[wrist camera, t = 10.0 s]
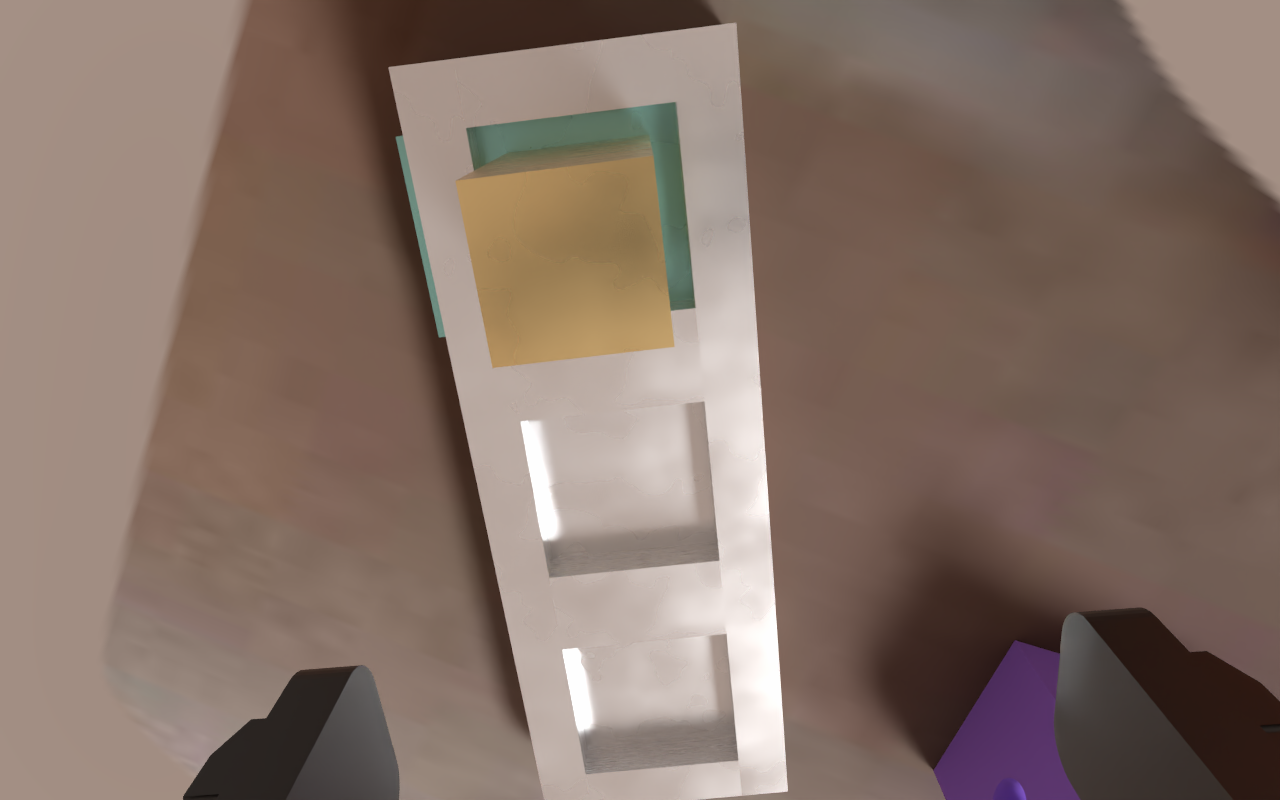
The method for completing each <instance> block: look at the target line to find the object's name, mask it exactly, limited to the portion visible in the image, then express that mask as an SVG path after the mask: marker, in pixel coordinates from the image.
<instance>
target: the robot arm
mask: <svg viewBox="0 0 1280 800" xmlns="http://www.w3.org/2000/svg"><path fill="white" fill-rule="evenodd" d="M1054 734H1055V740H1056V746H1057V750H1058V754H1059V757H1060V760H1061V763H1062V766H1063V768H1064V771H1065V773H1066V775H1067V778H1068V779H1069V781H1070V783H1071V785H1072V786H1073V788H1074V790H1075V791H1076V793H1077V795H1078V796H1079V798H1080V800H1280V701H1279V700H1278V699H1277V698H1276V697H1275V696H1274V695H1273V694H1271V693H1270V692H1269V691H1268V690H1267V689H1266V688H1265V687H1264V686H1263V685H1262V684H1261V683H1260V682H1258V681H1257V680H1255V679H1253V678H1252V677H1250V676H1248V675H1246V674H1245V673H1243V672H1241V671H1240V670H1238V669H1236V668H1235V667H1233V666H1231V665H1229V664H1228V663H1226V662H1224V661H1223V660H1221V659H1219V658H1217V657H1216V656H1214V655H1212V654H1211V653H1209V652H1207V651H1202V652H1189V651H1188V650H1187V649H1186V648H1185V647H1184V646H1183V645H1182V644H1181V643H1180V642H1179V640H1178V639H1177V638H1176V637H1175V636H1174V635H1173V634H1172V633H1171V632H1170V631H1169V630H1168V629H1167V628H1166V627H1165V626H1164V625H1163V624H1162V623H1161V622H1160V621H1159V619H1158V618H1157V617H1156V616H1155V615H1153V614H1152V613H1151V612H1150V611H1148V610H1147V609H1144V608H1127V609H1114V610H1101V611H1088V612H1075V613H1071V614H1069V615H1068V616H1067V617H1066V619H1065V621H1064V624H1063V629H1062V637H1061V648H1060V659H1059V669H1058V680H1057V691H1056V701H1055V712H1054ZM183 800H399V770H398V765H397V760H396V757H395V753H394V749H393V746H392V742H391V738H390V735H389V731H388V727H387V724H386V720H385V716H384V713H383V709H382V706H381V702H380V698H379V695H378V691H377V687H376V684H375V680H374V677H373V675H372V673H371V671H370V670H369V669H368V668H367V667H366V666H363V665H361V666H348V667H335V668H322V669H309V670H300V671H299V672H297V673H296V674H295V675H294V676H293V677H292V678H291V680H290V681H289V683H288V684H287V686H286V687H285V689H284V691H283V692H282V694H281V696H280V697H279V699H278V700H277V702H276V704H275V705H274V707H273V708H272V710H271V712H270V713H269V715H268V717H267V718H265V719H251V720H250V721H249V722H248V723H247V724H246V725H244V726H243V727H242V728H241V729H240V730H239V731H238V732H237V733H235V734H234V735H233V736H232V737H231V738H230V739H229V740H227V741H226V742H225V743H224V744H223V745H222V746H221V747H220V748H218V749H217V750H216V751H215V752H214V753H213V754H212V755H211V756H210V757H209V759H208V760H207V762H206V763H205V765H204V766H203V768H202V769H201V771H200V772H199V774H198V775H197V776H196V778H195V779H194V781H193V783H192V784H191V785H190V787H189V788H188V790H187V791H186V793H185V794H184V796H183Z"/></svg>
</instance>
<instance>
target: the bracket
mask: <svg viewBox="0 0 1280 800" xmlns="http://www.w3.org/2000/svg"><path fill="white" fill-rule="evenodd" d="M1059 659H1060V654H1059V653H1056V652H1052V651H1049V650H1046V649H1042V648H1039V647H1036V646H1033V645H1029V644H1026V643H1023V642H1019V641H1016V640H1015V641H1014V642H1013V644H1012V646H1011V647H1010V649H1009V650H1008V652H1007V654H1006V655H1005V657H1004V658H1003V660H1002V662H1001V663H1000V665H999V666H998V668H997V670H996V671H995V673H994V674H993V676H992V678H991V679H990V681H989V682H988V684H987V686H986V687H985V689H984V690H983V692H982V694H981V695H980V697H979V698H978V700H977V702H976V703H975V705H974V706H973V708H972V710H971V711H970V713H969V714H968V716H967V718H966V719H965V721H964V722H963V724H962V726H961V727H960V729H959V730H958V732H957V734H956V735H955V737H954V738H953V740H952V742H951V743H950V745H949V746H948V748H947V750H946V751H945V753H944V754H943V756H942V758H941V759H940V761H939V762H938V764H937V766H936V767H935V769H934V770H933V771H934V773H935V775H936V778H937V780H938V782H939V785H940V787H941V789H942V792H943V794H944V796H945V799H946V800H1080V798H1079V796H1078V795H1077V793H1076V791H1075V790H1074V788H1073V786H1072V785H1071V783H1070V781H1069V779H1068V778H1067V775H1066V773H1065V771H1064V768H1063V766H1062V763H1061V760H1060V757H1059V754H1058V750H1057V746H1056V740H1055V734H1054V712H1055V701H1056V691H1057V680H1058V669H1059Z"/></svg>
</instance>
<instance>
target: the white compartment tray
mask: <svg viewBox="0 0 1280 800" xmlns="http://www.w3.org/2000/svg"><path fill="white" fill-rule="evenodd" d="M388 68H389V73H390V77H391V82H392V87H393V91H394V96H395V101H396V106H397V110H398V115H399V120H400V124H401V129H402V134H403V135H401V136H397V137H396V141H397V146H398V150H399V155H400V160H401V164H402V169H403V174H404V178H405V183H406V187H407V192H408V197H409V201H410V206H411V211H412V215H413V220H414V224H415V229H416V234H417V238H418V243H419V248H420V252H421V257H422V261H423V266H424V271H425V275H426V280H427V285H428V289H429V294H430V298H431V303H432V308H433V312H434V317H435V322H436V326H437V331H438V335H439V337H446V341H447V345H448V350H449V355H450V359H451V364H452V369H453V373H454V378H455V383H456V387H457V392H458V397H459V402H460V406H461V411H462V416H463V420H464V425H465V430H466V434H467V439H468V444H469V449H470V453H471V458H472V463H473V467H474V472H475V477H476V481H477V486H478V491H479V496H480V500H481V505H482V510H483V514H484V519H485V524H486V528H487V533H488V538H489V543H490V547H491V552H492V557H493V561H494V566H495V571H496V575H497V580H498V585H499V590H500V594H501V599H502V604H503V608H504V613H505V618H506V622H507V627H508V632H509V636H510V641H511V646H512V651H513V655H514V660H515V665H516V669H517V674H518V679H519V683H520V688H521V693H522V698H523V702H524V707H525V712H526V716H527V721H528V726H529V730H530V735H531V740H532V745H533V749H534V754H535V759H536V763H537V768H538V773H539V777H540V782H541V787H542V792H543V796H544V800H698V799H709V798H720V797H732V796H743V795H754V794H765V793H776V792H787V791H788V788H787V773H786V758H785V743H784V728H783V713H782V698H781V683H780V668H779V654H778V639H777V624H776V609H775V594H774V579H773V564H772V549H771V534H770V519H769V504H768V490H767V475H766V460H765V445H764V430H763V415H762V400H761V385H760V370H759V355H758V341H757V326H756V311H755V296H754V281H753V266H752V251H751V236H750V221H749V206H748V191H747V177H746V162H745V147H744V132H743V117H742V102H741V87H740V72H739V57H738V42H737V28H736V23H729V24H722V25H714V26H706V27H698V28H690V29H683V30H675V31H667V32H659V33H651V34H643V35H636V36H628V37H620V38H612V39H604V40H597V41H589V42H581V43H573V44H565V45H558V46H550V47H542V48H534V49H526V50H519V51H511V52H503V53H495V54H487V55H479V56H472V57H464V58H456V59H448V60H440V61H433V62H425V63H417V64H409V65H401V66H394V67H388ZM642 135H649V137H650V142H651V146H652V151H653V156H654V165H655V174H656V183H657V192H658V201H659V210H660V219H661V228H662V237H663V246H664V256H665V265H666V274H667V283H668V292H669V301H670V310H671V319H672V328H673V337H674V346H675V347H669V348H661V349H652V350H643V351H635V352H626V353H618V354H609V355H600V356H592V357H583V358H575V359H566V360H557V361H549V362H540V363H532V364H523V365H515V366H506V367H497V368H492V363H491V358H490V353H489V348H488V343H487V338H486V333H485V328H484V323H483V318H482V313H481V308H480V303H479V298H478V293H477V288H476V283H475V278H474V273H473V268H472V263H471V258H470V253H469V248H468V243H467V237H466V232H465V227H464V222H463V217H462V212H461V207H460V202H459V197H458V192H457V187H456V182H455V181H456V180H458V179H460V178H461V177H463V176H465V175H467V174H469V173H471V172H473V171H474V170H476V169H478V168H480V167H482V166H484V165H486V164H487V163H489V162H491V161H493V160H495V159H497V158H499V157H500V156H502V155H504V154H506V153H509V152H517V151H525V150H533V149H540V148H548V147H556V146H564V145H572V144H580V143H587V142H595V141H603V140H611V139H619V138H627V137H634V136H642Z"/></svg>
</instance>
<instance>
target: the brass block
mask: <svg viewBox="0 0 1280 800" xmlns="http://www.w3.org/2000/svg"><path fill="white" fill-rule="evenodd" d="M455 182H456V187H457V192H458V197H459V202H460V207H461V212H462V217H463V222H464V227H465V232H466V237H467V243H468V248H469V253H470V258H471V263H472V268H473V273H474V278H475V283H476V288H477V293H478V298H479V303H480V308H481V313H482V318H483V323H484V328H485V333H486V338H487V343H488V348H489V353H490V358H491V363H492V368H497V367H506V366H515V365H523V364H532V363H540V362H549V361H557V360H566V359H575V358H583V357H592V356H600V355H609V354H618V353H626V352H635V351H643V350H652V349H661V348H669V347H675V346H674V337H673V328H672V319H671V310H670V301H669V292H668V283H667V274H666V265H665V256H664V246H663V237H662V228H661V219H660V210H659V201H658V192H657V183H656V174H655V165H654V156H653V151H652V146H651V142H650V137H649V135H642V136H634V137H627V138H619V139H611V140H603V141H595V142H587V143H580V144H572V145H564V146H556V147H548V148H540V149H533V150H525V151H517V152H509V153H506V154H504V155H502V156H500V157H499V158H497V159H495V160H493V161H491V162H489V163H487V164H486V165H484V166H482V167H480V168H478V169H476V170H474V171H473V172H471V173H469V174H467V175H465V176H463V177H461V178H460V179H458V180H456V181H455Z"/></svg>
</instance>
